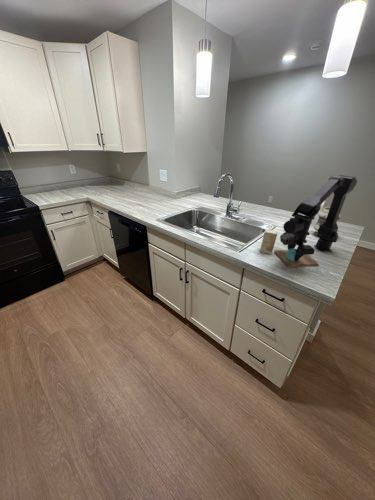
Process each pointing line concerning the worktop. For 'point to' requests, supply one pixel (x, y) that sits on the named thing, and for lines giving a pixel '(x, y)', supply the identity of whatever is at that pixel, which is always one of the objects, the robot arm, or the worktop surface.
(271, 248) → the skincare box
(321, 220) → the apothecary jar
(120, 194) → the worktop surface
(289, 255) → the cap
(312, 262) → the walnut board
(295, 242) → the robot arm
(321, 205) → the milk carton
